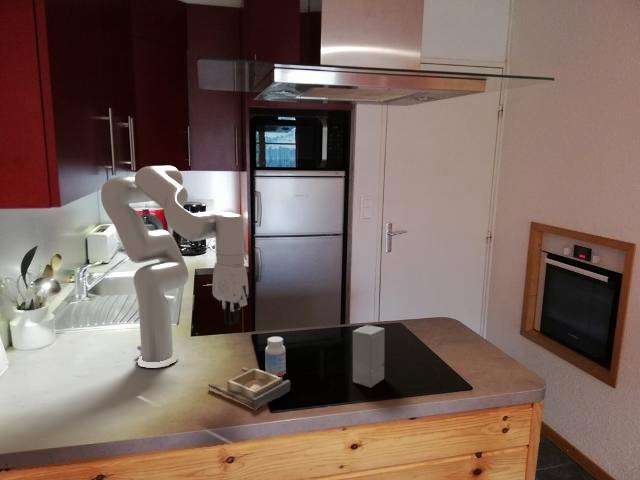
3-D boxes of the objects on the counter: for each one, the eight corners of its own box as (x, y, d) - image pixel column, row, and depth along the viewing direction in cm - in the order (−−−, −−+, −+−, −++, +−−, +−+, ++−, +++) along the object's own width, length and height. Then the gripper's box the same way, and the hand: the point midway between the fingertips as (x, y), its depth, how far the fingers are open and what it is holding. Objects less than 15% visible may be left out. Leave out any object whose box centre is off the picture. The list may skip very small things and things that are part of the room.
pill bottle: (282, 379, 150) (282, 343, 148) (262, 377, 151) (262, 342, 149) (287, 371, 156) (287, 336, 154) (268, 369, 157) (268, 334, 155)
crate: (227, 394, 140) (227, 380, 139) (254, 380, 148) (254, 368, 147) (255, 406, 133) (255, 392, 133) (282, 391, 142) (282, 378, 141)
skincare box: (370, 388, 145) (372, 336, 142) (349, 381, 149) (350, 330, 146) (385, 378, 151) (387, 327, 149) (365, 372, 156) (366, 322, 153)
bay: (208, 392, 142) (208, 380, 141) (244, 375, 153) (244, 364, 152) (255, 412, 131) (254, 400, 131) (290, 392, 142) (290, 380, 142)
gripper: (201, 257, 141) (203, 320, 144) (240, 265, 132) (241, 333, 135) (221, 253, 147) (223, 314, 150) (260, 260, 138) (261, 325, 141)
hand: (231, 322), depth 143 cm, fingers closed
